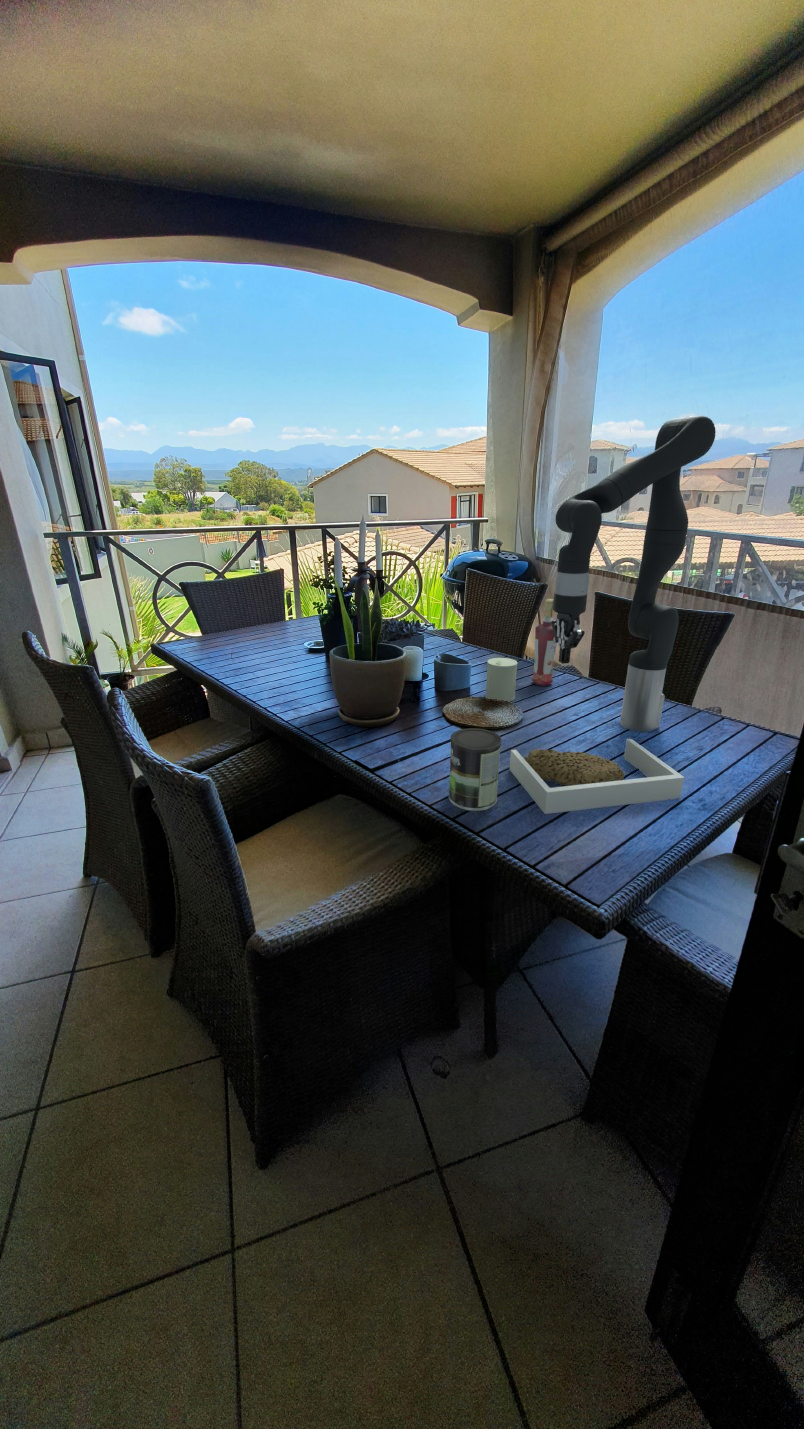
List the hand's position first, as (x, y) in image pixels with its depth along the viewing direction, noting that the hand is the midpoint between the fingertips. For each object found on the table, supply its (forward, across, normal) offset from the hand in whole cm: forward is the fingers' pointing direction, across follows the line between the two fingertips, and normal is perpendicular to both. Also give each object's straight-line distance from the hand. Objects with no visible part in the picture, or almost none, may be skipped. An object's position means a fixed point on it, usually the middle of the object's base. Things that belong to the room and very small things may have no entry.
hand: (563, 662), depth 137 cm
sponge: (+21, -21, +6) cm, 30 cm away
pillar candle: (+21, +33, +3) cm, 39 cm away
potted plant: (+21, +26, +45) cm, 56 cm away
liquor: (+22, +42, -15) cm, 50 cm away
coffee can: (+21, -24, +30) cm, 44 cm away
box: (+21, -23, +3) cm, 31 cm away
